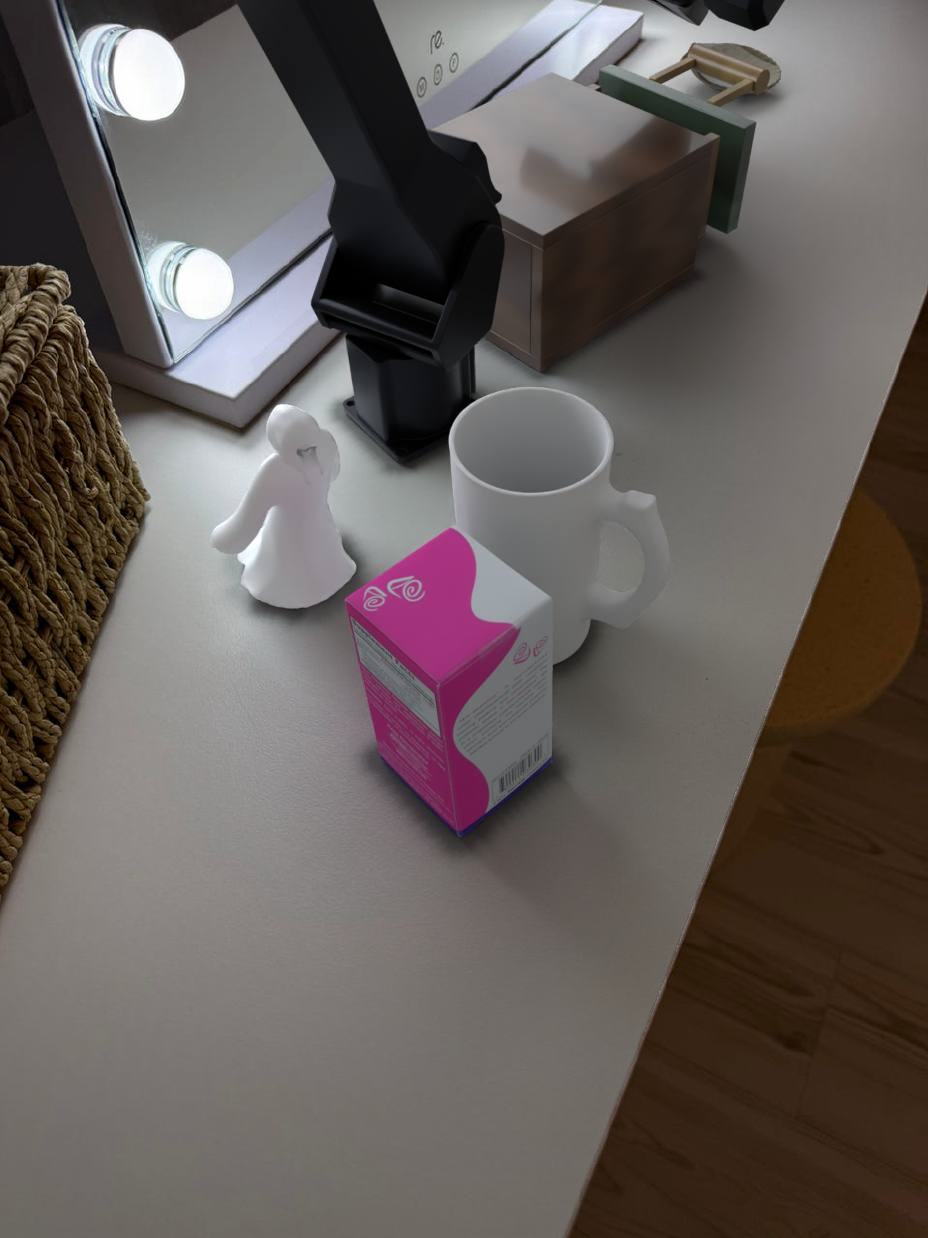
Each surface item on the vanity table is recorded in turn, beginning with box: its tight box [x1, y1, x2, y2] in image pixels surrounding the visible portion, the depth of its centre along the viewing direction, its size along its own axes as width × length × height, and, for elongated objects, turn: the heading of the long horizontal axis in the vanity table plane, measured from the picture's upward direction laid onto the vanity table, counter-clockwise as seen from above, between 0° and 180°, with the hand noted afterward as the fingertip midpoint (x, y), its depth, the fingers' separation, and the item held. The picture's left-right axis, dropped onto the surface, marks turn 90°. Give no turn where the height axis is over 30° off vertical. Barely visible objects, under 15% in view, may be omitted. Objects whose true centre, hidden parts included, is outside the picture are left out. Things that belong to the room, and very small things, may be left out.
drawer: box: [586, 44, 770, 238], centre depth 70 cm, size 19×13×8 cm, turn 133°
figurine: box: [209, 403, 358, 610], centre depth 50 cm, size 8×8×12 cm
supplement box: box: [344, 524, 554, 838], centre depth 42 cm, size 6×6×12 cm
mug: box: [448, 386, 671, 666], centre depth 46 cm, size 10×7×12 cm, turn 60°
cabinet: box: [430, 72, 714, 373], centre depth 67 cm, size 15×14×9 cm
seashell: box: [679, 42, 782, 95], centre depth 86 cm, size 8×3×8 cm
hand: (699, 17), depth 68 cm, fingers closed
